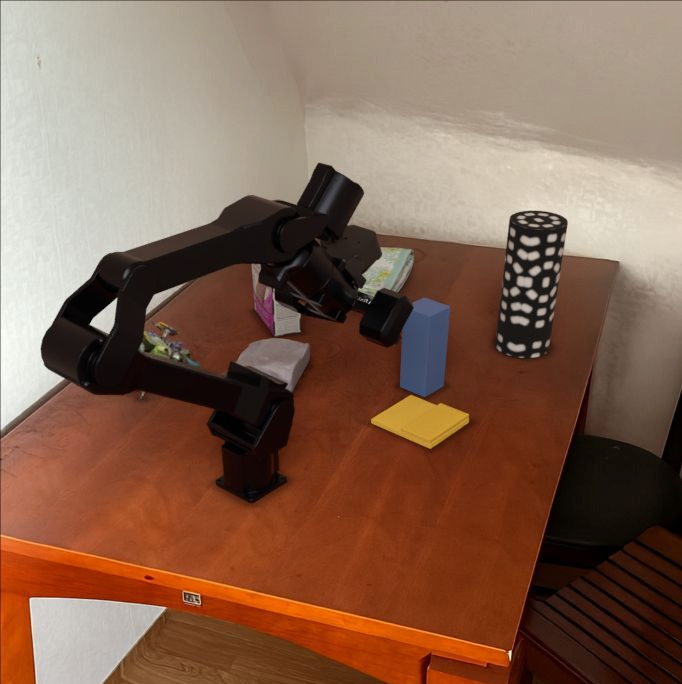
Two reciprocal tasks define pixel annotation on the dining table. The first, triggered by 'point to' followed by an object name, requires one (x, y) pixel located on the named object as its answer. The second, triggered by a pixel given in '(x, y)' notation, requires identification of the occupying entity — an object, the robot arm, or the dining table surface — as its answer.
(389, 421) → the cloth
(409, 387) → the block
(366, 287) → the towel
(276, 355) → the stone block
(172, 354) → the passion flower
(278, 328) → the candy bar box
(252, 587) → the dining table surface
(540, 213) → the spotted tube
